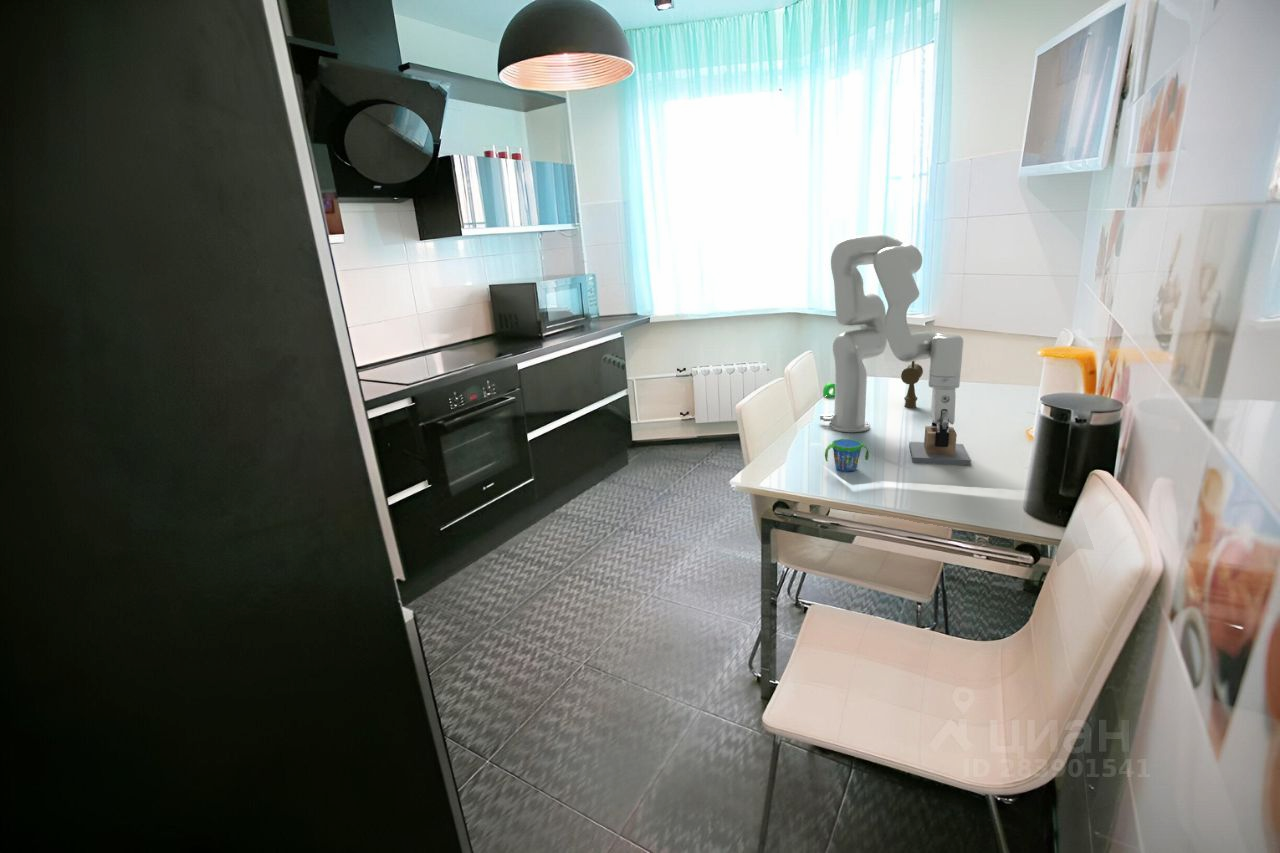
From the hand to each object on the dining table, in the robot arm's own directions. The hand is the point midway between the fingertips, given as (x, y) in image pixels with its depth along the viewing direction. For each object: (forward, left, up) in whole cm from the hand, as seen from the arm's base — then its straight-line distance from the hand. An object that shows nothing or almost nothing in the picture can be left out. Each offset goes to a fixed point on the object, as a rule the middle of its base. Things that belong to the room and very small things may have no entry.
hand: (939, 441), depth 161 cm
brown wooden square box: (0, 0, -3) cm, 3 cm away
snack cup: (-24, -15, -4) cm, 29 cm away
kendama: (-4, +48, -4) cm, 48 cm away
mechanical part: (-28, +58, -5) cm, 64 cm away
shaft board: (0, 0, -4) cm, 4 cm away
